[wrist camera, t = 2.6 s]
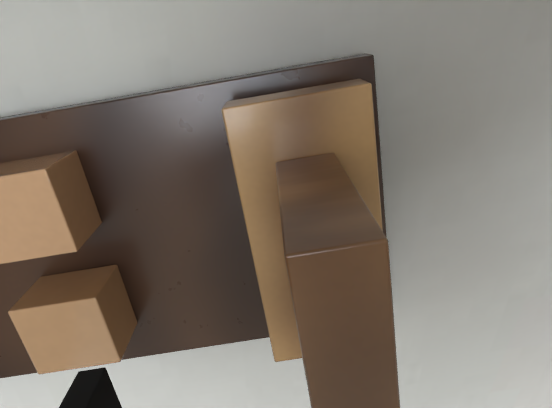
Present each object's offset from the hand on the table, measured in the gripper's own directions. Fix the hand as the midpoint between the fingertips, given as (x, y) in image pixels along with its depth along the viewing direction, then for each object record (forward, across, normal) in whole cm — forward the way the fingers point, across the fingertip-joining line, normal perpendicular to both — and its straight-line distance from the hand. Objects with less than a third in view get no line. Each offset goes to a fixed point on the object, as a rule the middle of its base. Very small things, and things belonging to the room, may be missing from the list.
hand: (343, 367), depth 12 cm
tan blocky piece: (+11, -13, -3) cm, 17 cm away
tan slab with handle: (+11, 0, 0) cm, 11 cm away
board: (+13, -10, 0) cm, 16 cm away
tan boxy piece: (+11, -13, +3) cm, 17 cm away
